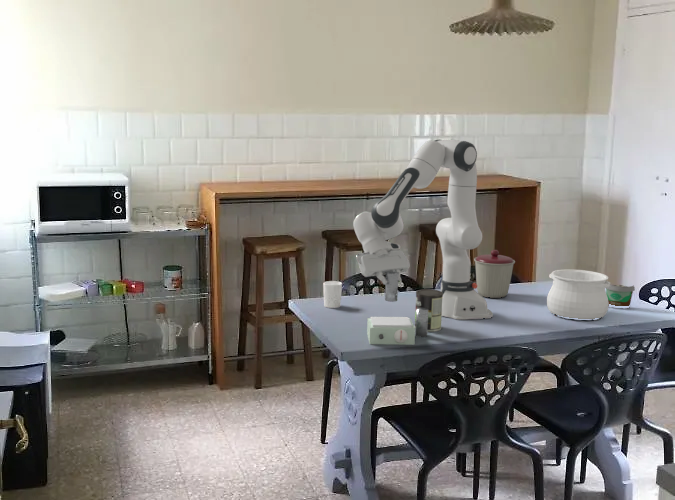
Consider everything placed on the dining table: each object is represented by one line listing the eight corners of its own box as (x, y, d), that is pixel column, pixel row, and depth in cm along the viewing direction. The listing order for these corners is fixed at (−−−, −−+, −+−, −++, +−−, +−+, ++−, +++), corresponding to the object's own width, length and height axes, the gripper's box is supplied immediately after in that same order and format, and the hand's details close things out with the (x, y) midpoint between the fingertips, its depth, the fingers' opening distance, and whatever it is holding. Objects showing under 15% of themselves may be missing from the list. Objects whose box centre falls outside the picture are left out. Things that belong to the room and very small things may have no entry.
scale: (409, 334, 290) (410, 316, 289) (414, 345, 276) (415, 327, 275) (367, 333, 290) (367, 315, 288) (369, 345, 276) (370, 326, 275)
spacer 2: (426, 333, 291) (427, 307, 289) (427, 337, 287) (429, 310, 285) (414, 333, 291) (415, 307, 289) (416, 337, 287) (417, 310, 285)
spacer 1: (396, 298, 284) (397, 272, 282) (397, 301, 280) (398, 274, 278) (384, 298, 284) (385, 271, 282) (385, 301, 280) (386, 274, 278)
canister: (516, 301, 343) (519, 254, 339) (475, 300, 343) (478, 253, 340) (508, 291, 361) (511, 246, 357) (469, 290, 361) (471, 245, 357)
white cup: (339, 309, 324) (340, 285, 322) (321, 307, 325) (321, 284, 323) (343, 304, 331) (343, 281, 329) (325, 303, 333) (325, 280, 331)
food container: (602, 307, 335) (604, 285, 333) (603, 304, 340) (605, 282, 339) (632, 311, 330) (634, 288, 328) (633, 307, 336) (635, 285, 334)
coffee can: (417, 331, 293) (418, 295, 291) (412, 324, 303) (413, 289, 301) (444, 331, 294) (445, 295, 292) (438, 324, 304) (440, 289, 302)
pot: (618, 315, 323) (622, 275, 320) (592, 326, 305) (596, 284, 302) (561, 304, 340) (564, 266, 337) (533, 314, 322) (536, 274, 319)
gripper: (358, 248, 278) (373, 280, 272) (402, 244, 290) (418, 274, 284) (350, 258, 283) (365, 290, 277) (395, 253, 294) (410, 284, 288)
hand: (392, 282), depth 280 cm, fingers closed on spacer 1, 4 cm apart
